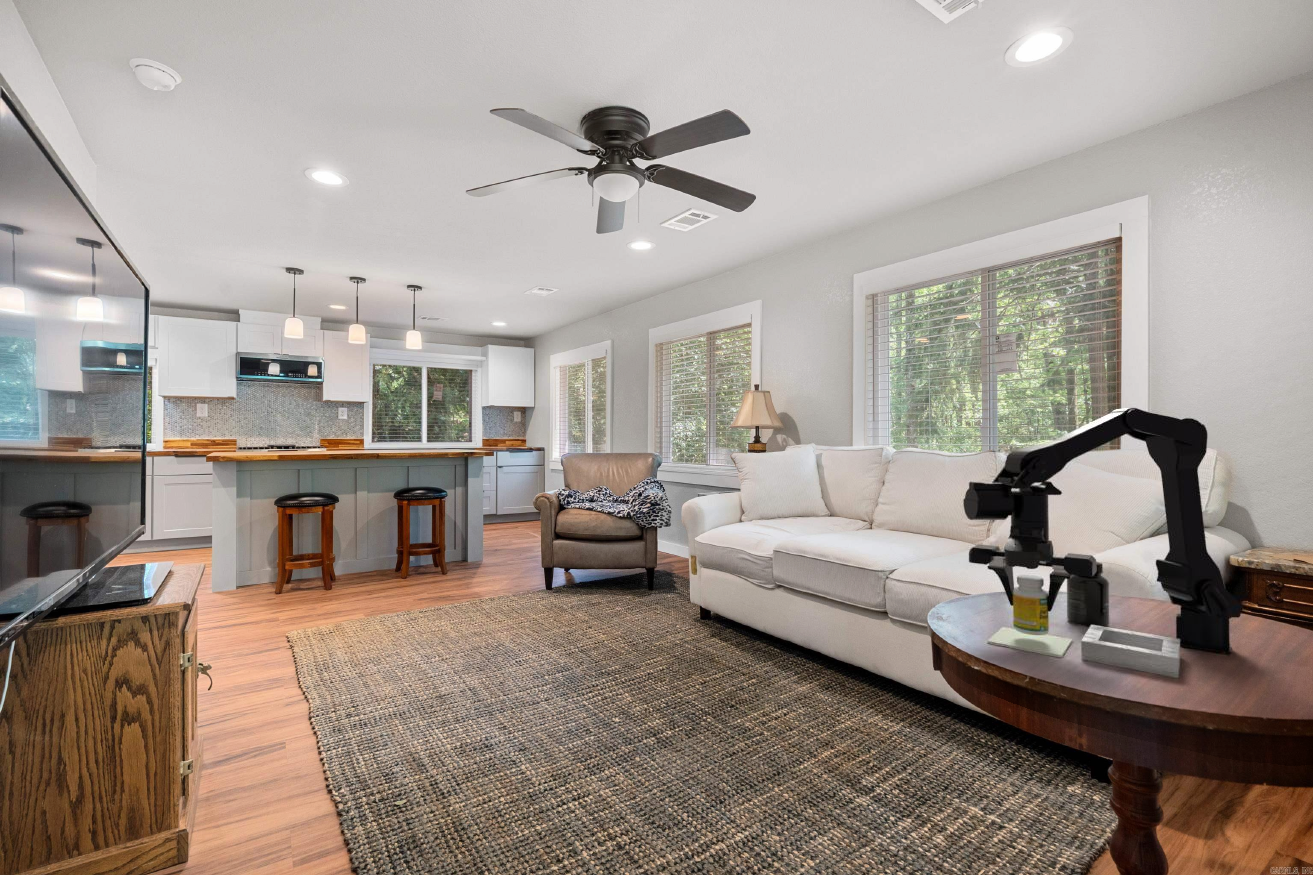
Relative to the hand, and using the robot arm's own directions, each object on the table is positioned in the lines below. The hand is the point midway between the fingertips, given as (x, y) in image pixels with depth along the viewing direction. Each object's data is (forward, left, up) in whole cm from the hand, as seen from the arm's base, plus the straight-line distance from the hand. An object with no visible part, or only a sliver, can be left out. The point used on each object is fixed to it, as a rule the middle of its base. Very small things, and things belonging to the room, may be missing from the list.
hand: (1030, 607), depth 107 cm
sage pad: (0, 0, -6) cm, 6 cm away
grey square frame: (-14, -2, -6) cm, 15 cm away
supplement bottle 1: (0, 0, -4) cm, 4 cm away
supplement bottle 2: (-6, -21, -6) cm, 23 cm away
